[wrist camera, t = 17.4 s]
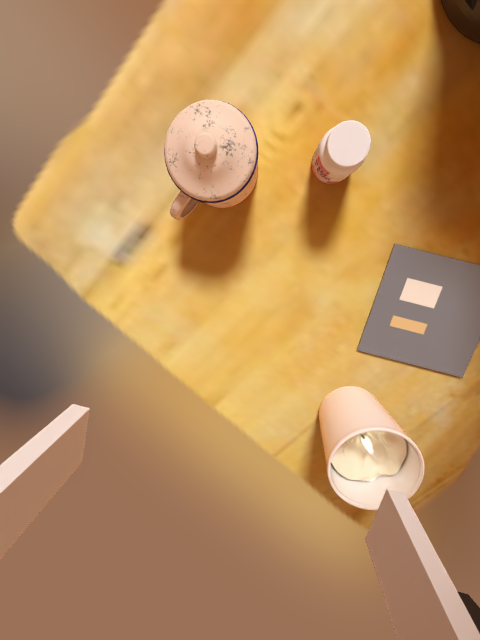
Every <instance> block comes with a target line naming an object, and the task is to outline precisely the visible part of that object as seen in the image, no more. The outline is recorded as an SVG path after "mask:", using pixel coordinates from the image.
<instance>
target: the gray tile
mask: <svg viewBox="0 0 480 640" xmlns="http://www.w3.org/2000/svg"><path fill="white" fill-rule="evenodd" d="M479 340H480V265H477V264H473V263H469V262H465V261H461V260H457V259H453V258H449V257H445V256H441V255H437V254H433V253H429V252H425V251H422V250H418V249H414V248H410V247H406V246H402V245H398V244H394V246H393V249H392V252H391V255H390V258H389V260H388V263H387V266H386V269H385V272H384V274H383V277H382V280H381V283H380V286H379V289H378V291H377V294H376V297H375V300H374V303H373V305H372V308H371V311H370V314H369V317H368V320H367V322H366V325H365V328H364V331H363V334H362V336H361V339H360V342H359V345H358V348H357V350H358V351H362V352H366V353H370V354H374V355H377V356H381V357H385V358H389V359H393V360H397V361H400V362H404V363H408V364H412V365H416V366H420V367H423V368H427V369H431V370H435V371H439V372H443V373H446V374H450V375H454V376H458V377H462V378H463V375H464V373H465V371H466V369H467V366H468V364H469V362H470V360H471V358H472V355H473V353H474V351H475V349H476V346H477V344H478V342H479Z"/></svg>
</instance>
